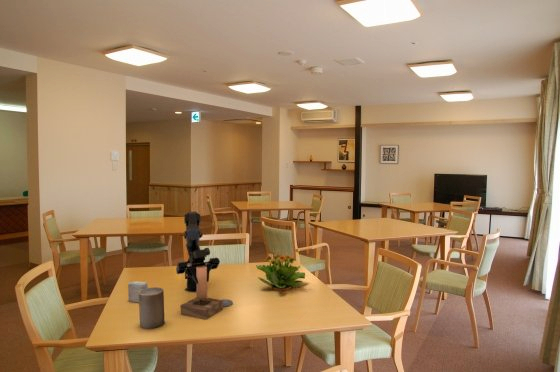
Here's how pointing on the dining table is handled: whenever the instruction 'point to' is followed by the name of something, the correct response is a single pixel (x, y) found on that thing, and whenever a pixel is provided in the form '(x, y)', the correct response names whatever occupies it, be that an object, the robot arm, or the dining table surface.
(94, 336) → the dining table surface
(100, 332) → the dining table surface
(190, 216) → the robot arm
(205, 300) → the pocket block
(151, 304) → the pillar candle
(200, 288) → the peg
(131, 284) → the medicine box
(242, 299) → the dining table surface
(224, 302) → the coaster
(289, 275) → the potted flower
